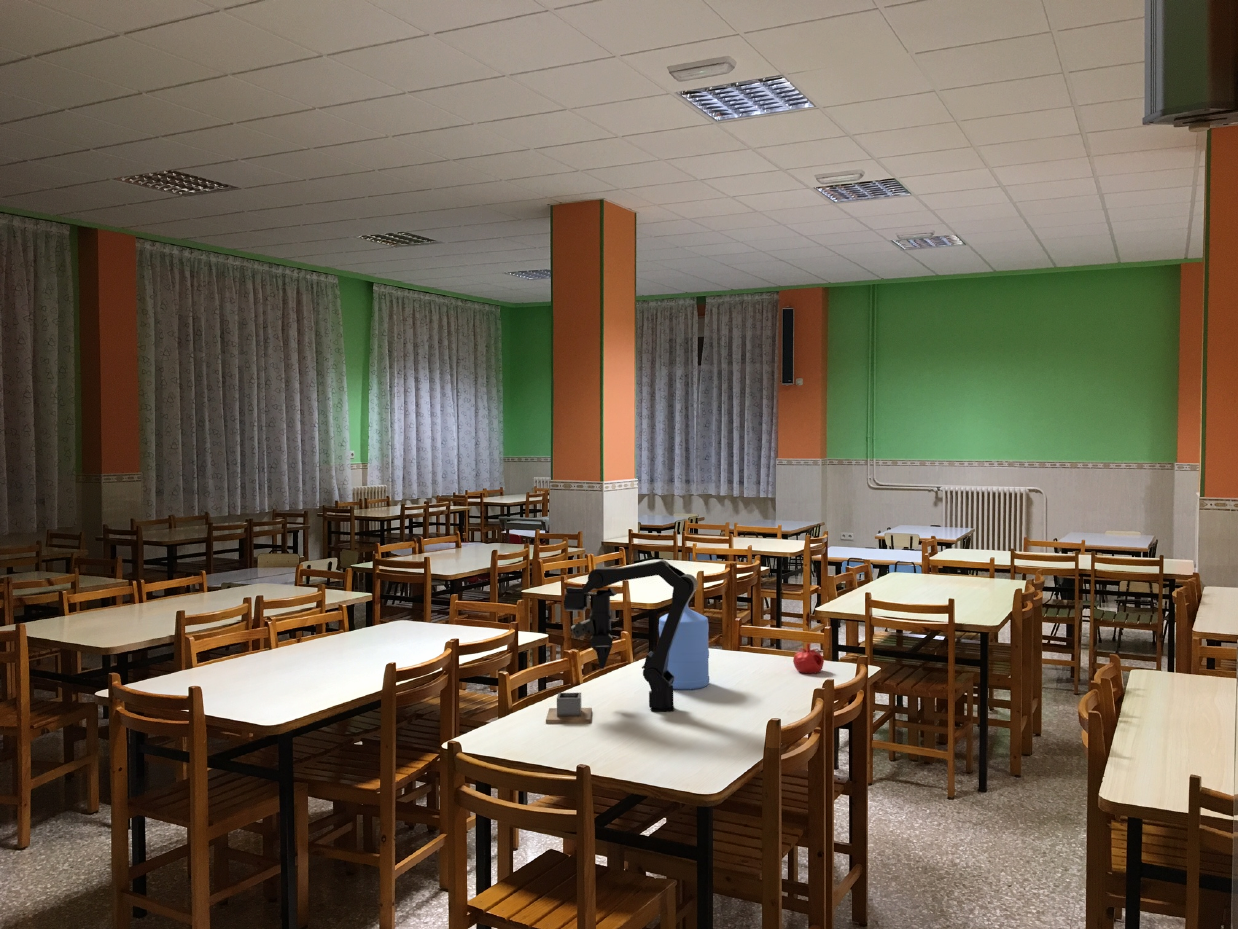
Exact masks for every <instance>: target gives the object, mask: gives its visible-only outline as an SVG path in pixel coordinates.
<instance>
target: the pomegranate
mask: <svg viewBox="0 0 1238 929" xmlns="http://www.w3.org/2000/svg"><path fill="white" fill-rule="evenodd" d="M806 646H807V647H806V648H802V647H799V648H798V647H797V649H798V652H796V653H795V654H794V656H793V660H792V663H793V665H794V667H795V669H796V670H797V671H798V672H799V673H802V674H818V673H820V672H821V671H823V667H824V663H825V660H824V656H823V655H822V654H821V653H820V652H818V651H819V649H818V648H813V649H811V648H810V647H811V644H810V643H806ZM797 649H796V650H797ZM801 650H802V651H801Z"/></svg>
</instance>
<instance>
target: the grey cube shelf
mask: <svg viewBox="0 0 1238 929" xmlns="http://www.w3.org/2000/svg"><path fill="white" fill-rule="evenodd" d="M556 708H557V717H580V716H581V708H582V692H558V693H557V697H556Z"/></svg>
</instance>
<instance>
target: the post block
mask: <svg viewBox="0 0 1238 929" xmlns="http://www.w3.org/2000/svg"><path fill="white" fill-rule="evenodd" d="M592 710H593V708H592V707H581V716H580V717H557V707H549V708H548V711H547V715H546V718H545V724H590V723H591V721H590V720H592V712H593V711H592Z"/></svg>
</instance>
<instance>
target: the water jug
mask: <svg viewBox="0 0 1238 929" xmlns="http://www.w3.org/2000/svg"><path fill="white" fill-rule="evenodd" d="M667 616H668V613H666V614H664V615H662V616H660V617H659V619H658V620H659V621H658V623H659V624H658V634H659V637H660V636H661V633H662V630H663V627H664V624H665V622H666V619H667ZM709 626H710V624H709V618H708V617H707V616H705V615H703V614H701V613H699V612H697V611H695V610H693V609H691V608H690V607H689V603H688V604H687V606H686V607H685V609H684V612H683V615H682V618H681V621H680V623H679V626H678V629H677V632H676V635H675V637H674V640H673V643H672V646H671V648H670V651H669V661H668V667H667V670H668V671H669V672H670V673H671V674H672V675H673V676H674V677H675V678H674V681H673V684H671V685H673V690H686V691H687V690H690V691H691V690H698V689H702V688H705V687H707V686H708V685H710V684H709V683H710V676H709V675H710V673H709V671H710V670H709V669H710V668H709V657H710V651H709V629H710V627H709Z"/></svg>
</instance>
